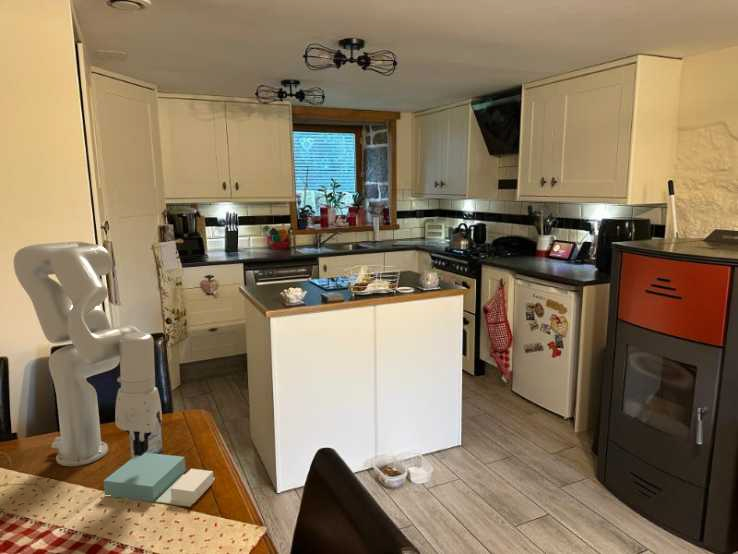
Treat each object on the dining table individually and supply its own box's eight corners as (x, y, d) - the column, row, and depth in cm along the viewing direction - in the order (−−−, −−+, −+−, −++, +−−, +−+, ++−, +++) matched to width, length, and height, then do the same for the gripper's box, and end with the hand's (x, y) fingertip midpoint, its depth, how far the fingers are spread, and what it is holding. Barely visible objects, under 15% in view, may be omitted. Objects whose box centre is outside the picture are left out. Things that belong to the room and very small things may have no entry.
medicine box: (145, 464, 138) (143, 434, 136) (131, 462, 139) (128, 432, 137) (163, 450, 145) (161, 421, 144) (149, 448, 146) (146, 420, 145)
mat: (155, 502, 121) (155, 501, 121) (183, 475, 132) (182, 474, 132) (190, 506, 119) (190, 505, 119) (215, 478, 131) (215, 477, 131)
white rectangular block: (193, 491, 120) (194, 503, 120) (212, 471, 128) (213, 482, 129) (170, 488, 121) (171, 500, 121) (191, 468, 129) (191, 479, 130)
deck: (104, 495, 123) (103, 480, 123) (141, 466, 137) (140, 452, 136) (153, 502, 121) (152, 486, 120) (185, 471, 135) (184, 456, 134)
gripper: (100, 386, 121) (104, 456, 125) (157, 393, 119) (159, 465, 122) (120, 374, 129) (124, 441, 132) (175, 381, 126) (176, 449, 130)
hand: (141, 452), depth 127 cm, fingers closed
